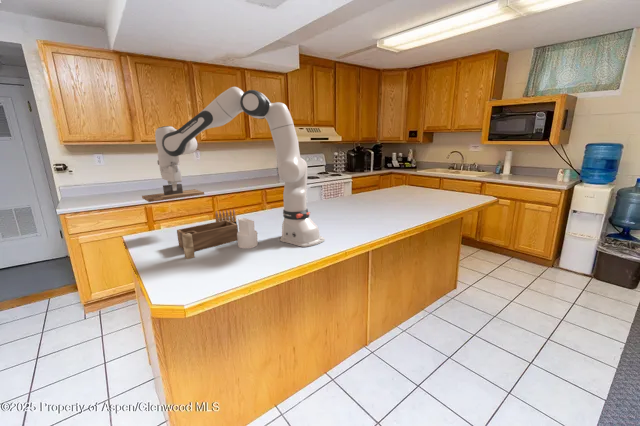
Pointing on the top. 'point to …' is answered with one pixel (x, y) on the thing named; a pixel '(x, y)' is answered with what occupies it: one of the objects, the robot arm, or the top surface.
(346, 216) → the top surface
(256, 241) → the base with upright slab
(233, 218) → the ammunition clip
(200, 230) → the toolbox
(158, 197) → the lid
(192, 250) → the pin
